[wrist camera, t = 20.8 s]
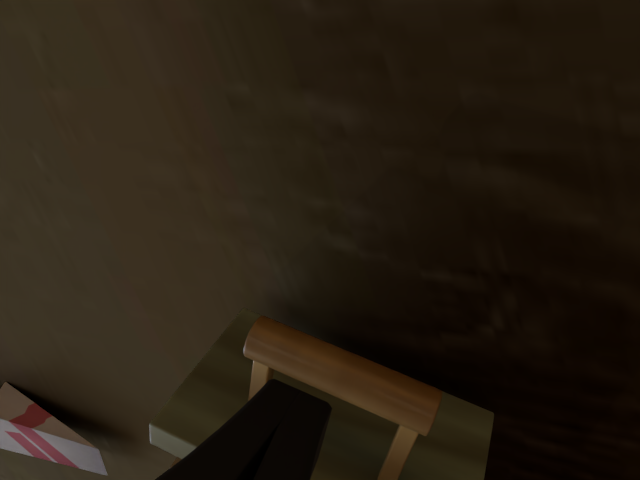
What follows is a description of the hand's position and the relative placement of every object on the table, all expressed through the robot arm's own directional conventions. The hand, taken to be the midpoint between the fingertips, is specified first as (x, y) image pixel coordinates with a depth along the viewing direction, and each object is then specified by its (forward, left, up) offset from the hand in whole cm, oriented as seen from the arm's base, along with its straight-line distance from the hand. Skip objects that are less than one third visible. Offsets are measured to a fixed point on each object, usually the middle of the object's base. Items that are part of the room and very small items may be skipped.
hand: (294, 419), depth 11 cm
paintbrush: (+24, +27, -10) cm, 37 cm away
